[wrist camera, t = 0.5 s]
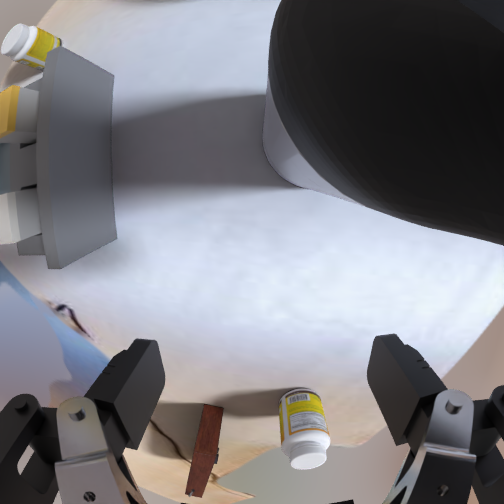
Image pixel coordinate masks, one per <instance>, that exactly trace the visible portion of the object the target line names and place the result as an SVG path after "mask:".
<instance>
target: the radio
mask: <svg viewBox="0 0 504 504" xmlns="http://www.w3.org/2000/svg"><path fill="white" fill-rule="evenodd" d="M223 409H224V408H220V407H215V406H211V405H207V404H204V408H203V412H202V417H201V421H200V425H199V430H198V434H197V439H196V444H195V448H194V453H193V458H192V462H191V467H190V472H189V477H188V482H187V487H186V492H185V494H186V495H188V496H189V497H190V496H196V497H201V498H202V495H203V493H204V490H205V487H206V484H207V482H208V479H209V476H210V473H211V471H212V468H213V465H214V463H215V464H217V461H218V455H219V454H217V453H218V451H219V448H218V443H219V436H220V429H221V423H222V416H223Z"/></svg>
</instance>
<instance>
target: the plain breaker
mask: <svg viewBox="0 0 504 504" xmlns="http://www.w3.org/2000/svg"><path fill="white" fill-rule="evenodd" d="M40 233H42V230H41V223H40V214H39V205H38V192H37V188H33V189H27V190H21V191H15V192H9V193H5V194H2V195H0V244H13V243H16V242H18V241H21V240H24V239H26V238H29V237H31V236H34V235H37V234H40Z"/></svg>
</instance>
